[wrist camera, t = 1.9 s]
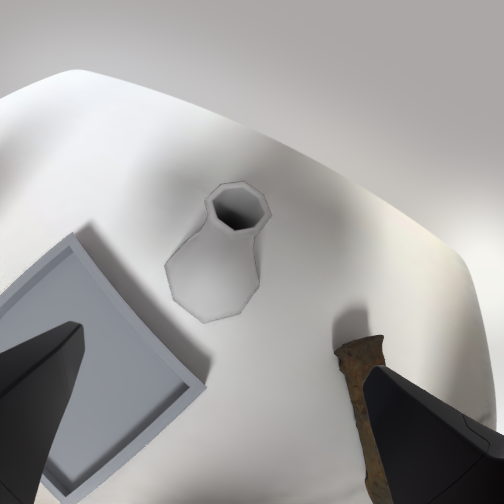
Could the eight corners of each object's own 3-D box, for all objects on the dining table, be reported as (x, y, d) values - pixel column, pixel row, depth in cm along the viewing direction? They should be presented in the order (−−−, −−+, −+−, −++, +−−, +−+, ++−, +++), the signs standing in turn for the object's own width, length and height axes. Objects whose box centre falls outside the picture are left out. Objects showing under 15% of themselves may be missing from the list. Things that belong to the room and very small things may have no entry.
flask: (273, 290, 24) (333, 231, 15) (200, 340, 21) (222, 307, 12) (222, 222, 25) (251, 138, 17) (148, 262, 22) (139, 183, 13)
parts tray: (75, 501, 12) (68, 509, 10) (-34, 350, 14) (-46, 346, 12) (204, 386, 19) (207, 387, 17) (78, 243, 21) (72, 232, 19)
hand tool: (325, 348, 23) (355, 339, 19) (362, 338, 24) (395, 327, 20) (356, 526, 16) (385, 542, 12) (389, 508, 17) (420, 518, 13)
